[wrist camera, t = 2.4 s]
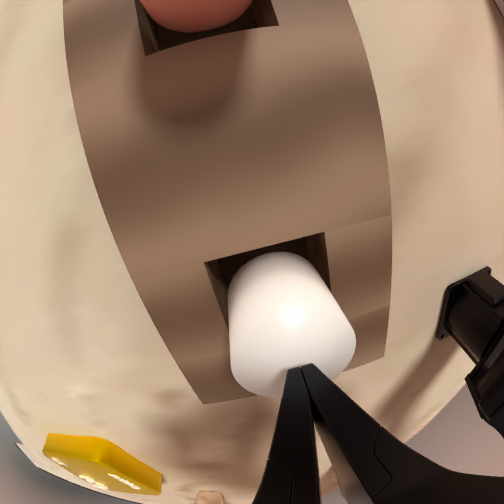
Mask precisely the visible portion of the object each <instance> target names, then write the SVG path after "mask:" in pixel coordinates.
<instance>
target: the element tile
mask: <svg viewBox="0 0 504 504" xmlns="http://www.w3.org/2000/svg"><path fill="white" fill-rule="evenodd" d="M42 452H43V454H44V455H45V456H46V457H48V458H49V459H51V460H52V461H54V462H55V463H57V464H58V465H60V466H61V467H63V468H64V469H66V470H68V471H69V472H71V473H73V474H74V475H76V476H78V477H80V478H81V479H83V480H85V481H87V482H89V484H91V485H92V486H95V487H97V488H100V489H104V490H112V491H119V492H126V493H135V494H145V495H160V494H161V486H162V474H161V473H160V472H158V471H156V470H154V469H153V468H151V467H149V466H147V465H146V464H144V463H143V462H141V461H139V460H138V459H136V458H135V457H133V456H131V455H130V454H128V453H127V452H125V451H124V450H122V449H121V448H120V447H118V446H117V445H115V444H114V443H112V442H110V441H108V440H106V439H103V438H99V437H92V436H75V435H63V434H54V433H49V434H48V436H47V439H46V442H45V445H44V448H43V451H42Z"/></svg>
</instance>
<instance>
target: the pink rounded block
mask: <svg viewBox="0 0 504 504" xmlns="http://www.w3.org/2000/svg"><path fill="white" fill-rule="evenodd" d="M252 1H253V0H140V2H141V3H142V5H143V6H144V8H145V9H146V11H147V12H148V14H149V15H150V16H151V18H152V19H153V20H154V21H155V22H156V23H158V24H159V25H161V26H163V27H165V28H167V29H170V30H174V31H179V32H203V31H208V30H212V29H216V28H219V27H222V26H224V25H226V24H228V23H231V22H232V21H234V20H236V19H237V18H238V17H240V16H241V15H242V14H243V13H244V12H245V11H246V10H247V9H248V8H249V6H250V4H251V3H252Z"/></svg>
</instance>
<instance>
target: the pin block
mask: <svg viewBox="0 0 504 504" xmlns="http://www.w3.org/2000/svg"><path fill="white" fill-rule="evenodd" d="M250 6H251V9H252V12H253V15H254V18H255V22H256V25H257V28H254V29H247V30H241V31H236V32H230V33H225V34H220V35H216V36H211V37H207V38H203V39H199V40H195V41H191V42H188V43H184V44H181V45H178V46H174V47H171V48H168V49H165V50H162V51H160V49H159V44H158V40H157V35H156V31H155V26H154V21H153V19H152V18H151V16H150V15H149V14H148V12H147V11H146V9H145V8H144V6H143V5H142V3H141V2H140V0H63V21H64V38H65V49H66V58H67V67H68V74H69V80H70V87H71V92H72V98H73V103H74V108H75V113H76V118H77V122H78V126H79V131H80V135H81V139H82V143H83V147H84V150H85V154H86V158H87V161H88V165H89V168H90V171H91V175H92V178H93V181H94V184H95V187H96V190H97V193H98V196H99V199H100V202H101V205H102V208H103V210H104V213H105V216H106V219H107V221H108V224H109V227H110V229H111V232H112V234H113V237H114V239H115V242H116V244H117V247H118V249H119V251H120V254H121V256H122V258H123V261H124V263H125V265H126V268H127V270H128V272H129V274H130V276H131V279H132V281H133V283H134V285H135V287H136V289H137V291H138V293H139V295H140V297H141V299H142V301H143V303H144V305H145V307H146V309H147V311H148V313H149V315H150V317H151V319H152V321H153V323H154V325H155V326H156V328H157V330H158V332H159V334H160V336H161V337H162V339H163V341H164V343H165V344H166V346H167V348H168V350H169V351H170V353H171V355H172V356H173V358H174V360H175V361H176V363H177V365H178V366H179V368H180V370H181V371H182V373H183V374H184V376H185V378H186V379H187V381H188V382H189V384H190V385H191V387H192V389H193V390H194V392H195V393H196V395H197V396H198V398H199V399H200V400H201V402H202V403H203V404H209V403H216V402H222V401H228V400H234V399H240V398H245V397H250V396H255V395H257V394H254V393H252V392H249V391H248V390H246V389H244V388H243V387H242V386H241V385H240V384H239V383H238V382H237V381H236V380H235V378H234V376H233V373H232V371H231V360H230V341H229V319H228V290H227V287H226V284H225V281H224V278H223V275H222V272H221V269H220V266H219V262H218V259H219V258H223V257H227V256H231V255H235V254H238V253H242V252H246V251H250V250H254V249H258V248H262V247H266V246H270V245H274V244H278V243H282V242H286V241H290V240H294V239H298V238H302V237H305V238H306V245H307V251H308V257H309V262H310V263H311V264H312V265H313V266H314V267H315V269H316V270H317V272H318V273H319V275H320V276H321V278H322V280H323V281H324V283H325V284H326V286H327V287H328V289H329V291H330V292H331V294H332V295H333V297H334V299H335V300H336V302H337V303H338V305H339V307H340V308H341V310H342V312H343V313H344V315H345V317H346V318H347V320H348V322H349V323H350V325H351V327H352V328H353V330H354V333H355V337H356V347H355V351H354V355H353V357H352V359H351V361H350V362H349V364H348V365H347V367H346V368H345V369H344V370H343V372H344V371H347V370H350V369H353V368H356V367H358V366H361V365H364V364H367V363H369V362H372V361H374V360H377V359H379V358H382V357H384V352H385V345H386V337H387V328H388V319H389V308H390V294H391V274H392V218H391V199H390V185H389V174H388V164H387V156H386V148H385V141H384V134H383V128H382V122H381V116H380V111H379V106H378V101H377V96H376V91H375V87H374V83H373V79H372V75H371V71H370V67H369V63H368V59H367V56H366V52H365V49H364V46H363V42H362V39H361V36H360V33H359V30H358V27H357V24H356V21H355V19H354V16H353V13H352V11H351V8H350V5H349V3H348V0H253V1H252V3H251V4H250Z"/></svg>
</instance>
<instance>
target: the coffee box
mask: <svg viewBox="0 0 504 504" xmlns="http://www.w3.org/2000/svg"><path fill="white" fill-rule="evenodd" d="M495 2H496V4H497V6H498V8H499V9H500V11H501V13H502V15H503V17H504V0H495Z"/></svg>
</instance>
